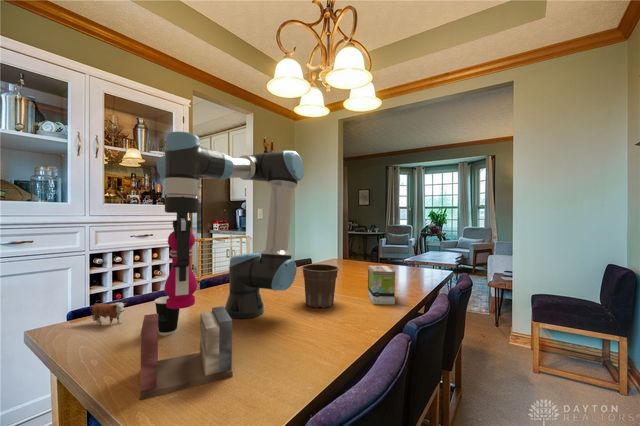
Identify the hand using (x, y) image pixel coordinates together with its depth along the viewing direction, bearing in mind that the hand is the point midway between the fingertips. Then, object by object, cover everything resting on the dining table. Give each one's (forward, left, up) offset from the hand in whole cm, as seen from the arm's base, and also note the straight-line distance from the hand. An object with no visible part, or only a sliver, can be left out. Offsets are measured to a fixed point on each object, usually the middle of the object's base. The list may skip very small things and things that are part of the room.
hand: (181, 290), depth 71 cm
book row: (-2, 0, -20) cm, 20 cm away
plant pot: (-57, -33, -21) cm, 69 cm away
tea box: (-85, -26, -21) cm, 91 cm away
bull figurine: (+20, -46, -21) cm, 54 cm away
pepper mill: (0, 0, -4) cm, 4 cm away
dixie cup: (+2, -29, -21) cm, 36 cm away
